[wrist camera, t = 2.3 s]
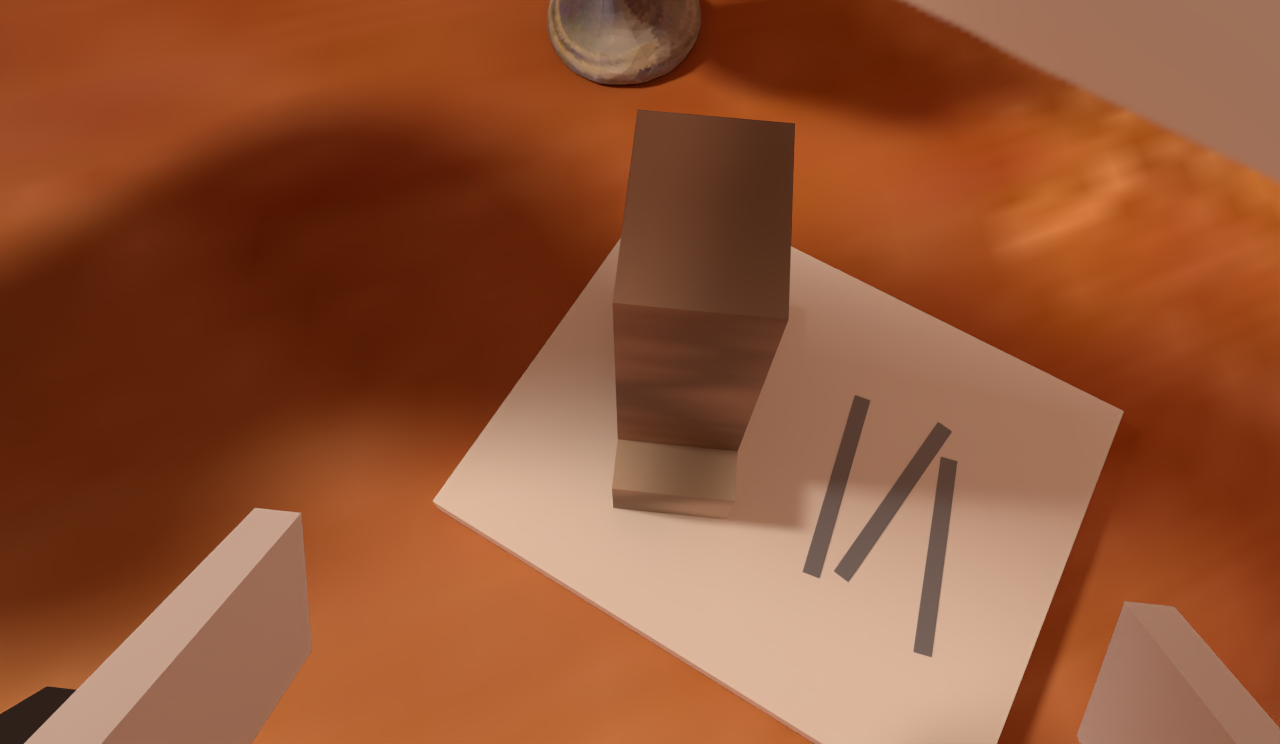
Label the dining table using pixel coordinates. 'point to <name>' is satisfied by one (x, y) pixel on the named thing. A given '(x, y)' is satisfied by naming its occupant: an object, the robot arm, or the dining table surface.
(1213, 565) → the dining table surface
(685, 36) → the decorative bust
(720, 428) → the block
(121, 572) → the dining table surface
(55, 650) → the dining table surface
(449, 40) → the dining table surface
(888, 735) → the marked board
